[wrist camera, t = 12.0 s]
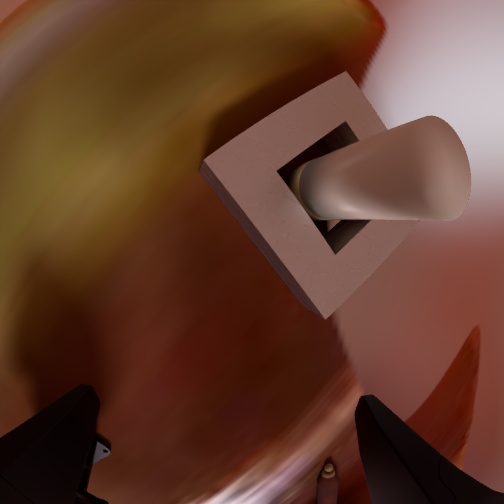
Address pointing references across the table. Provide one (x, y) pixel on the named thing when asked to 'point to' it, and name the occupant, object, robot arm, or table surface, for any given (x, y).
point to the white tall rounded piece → (389, 176)
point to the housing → (288, 207)
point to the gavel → (327, 486)
